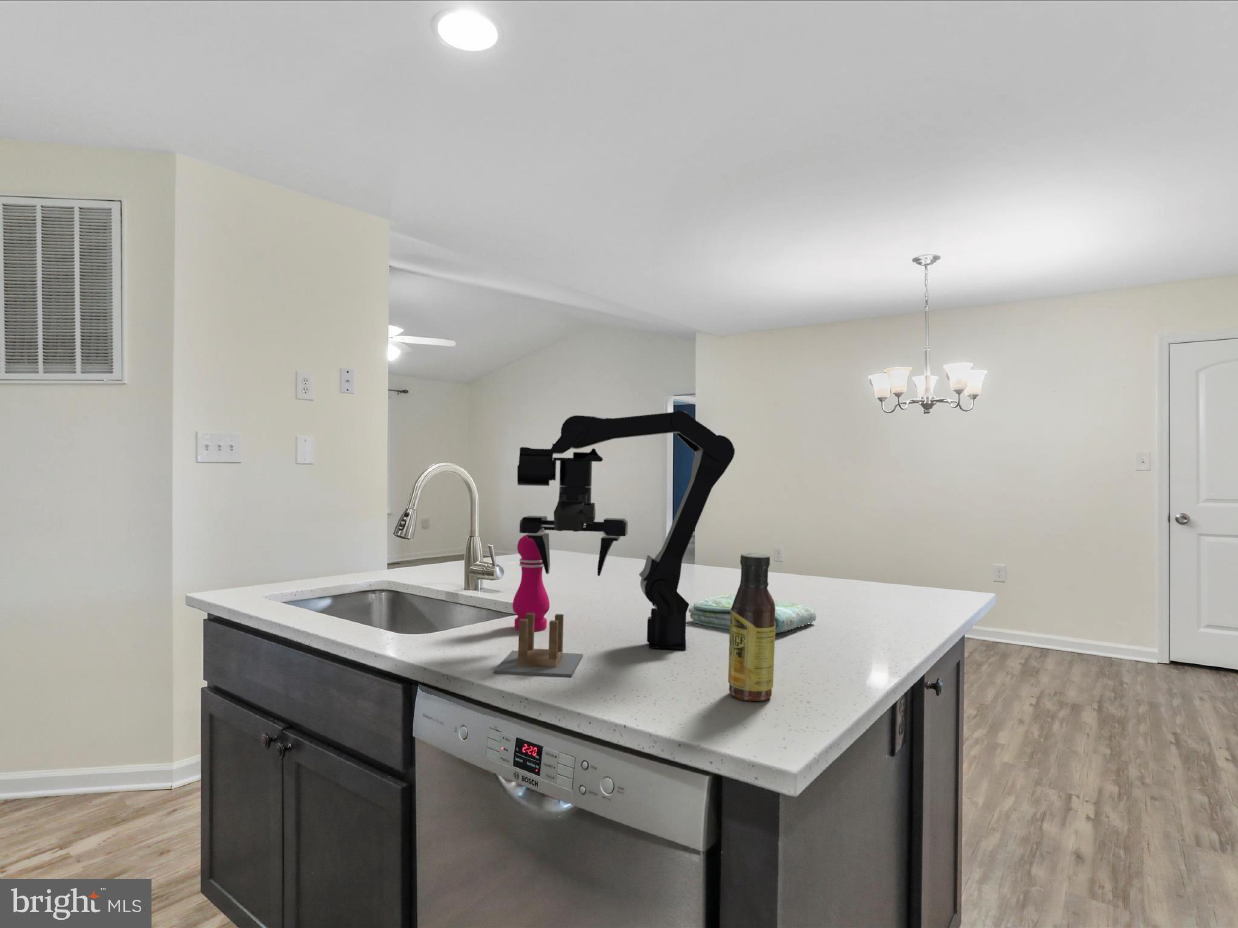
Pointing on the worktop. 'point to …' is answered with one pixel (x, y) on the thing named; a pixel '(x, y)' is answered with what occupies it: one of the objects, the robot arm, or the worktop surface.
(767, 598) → the sauce bottle
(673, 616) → the robot arm
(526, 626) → the stool
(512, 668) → the mat
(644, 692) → the worktop surface
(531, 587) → the pepper mill
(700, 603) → the towel
